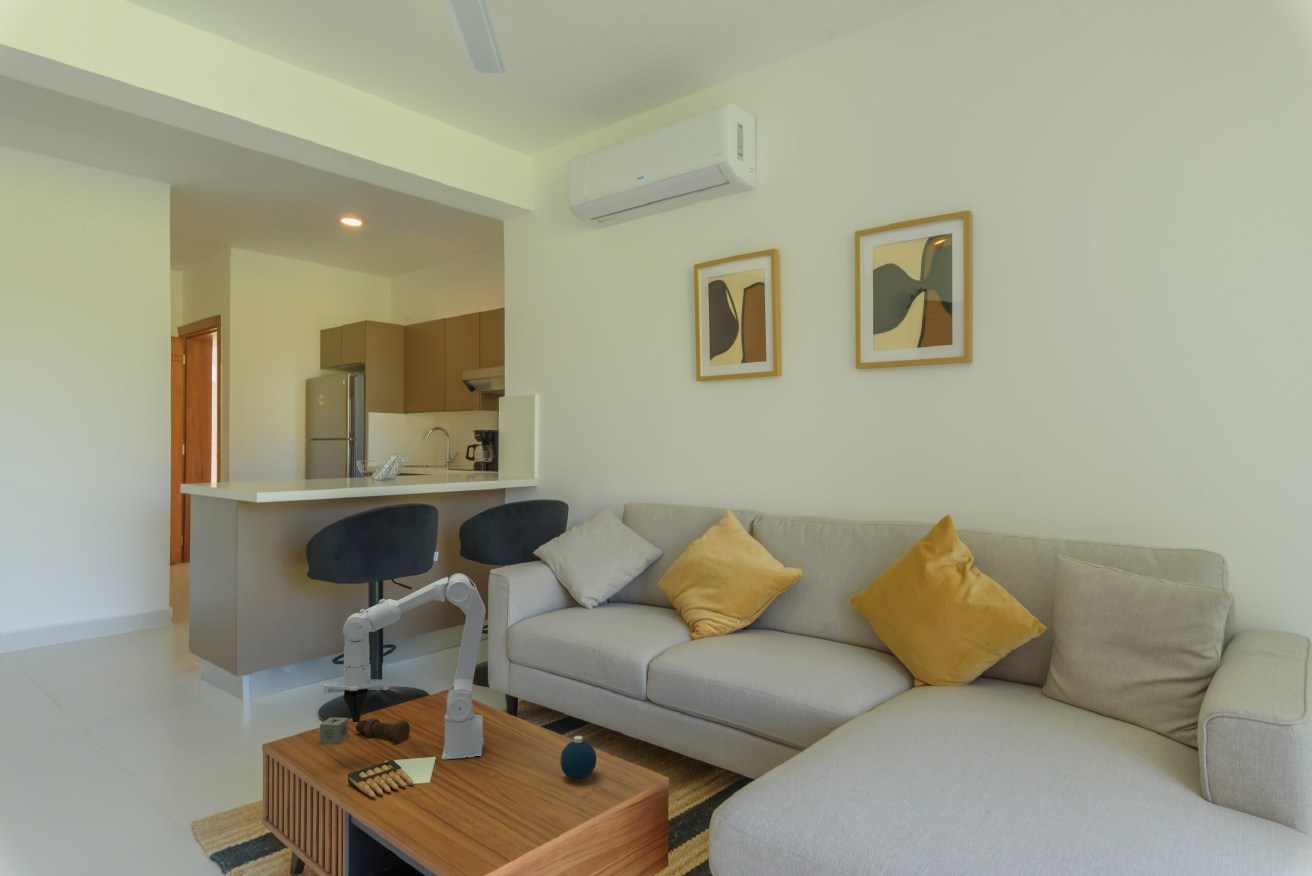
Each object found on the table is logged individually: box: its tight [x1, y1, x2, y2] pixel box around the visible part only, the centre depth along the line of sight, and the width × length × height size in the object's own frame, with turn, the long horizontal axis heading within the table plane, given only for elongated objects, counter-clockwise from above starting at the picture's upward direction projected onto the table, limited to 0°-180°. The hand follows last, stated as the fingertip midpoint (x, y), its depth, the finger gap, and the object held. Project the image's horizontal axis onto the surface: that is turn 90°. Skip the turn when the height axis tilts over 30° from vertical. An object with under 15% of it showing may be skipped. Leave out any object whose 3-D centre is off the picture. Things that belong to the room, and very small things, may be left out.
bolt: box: [355, 717, 411, 744], centre depth 194 cm, size 6×5×15 cm
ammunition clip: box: [347, 759, 414, 798], centre depth 167 cm, size 11×2×12 cm
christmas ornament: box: [559, 735, 597, 781], centre depth 170 cm, size 8×8×10 cm
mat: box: [384, 756, 437, 787], centre depth 173 cm, size 12×14×1 cm
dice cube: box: [319, 717, 349, 745], centre depth 192 cm, size 5×5×5 cm
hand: (356, 720), depth 178 cm, fingers closed
